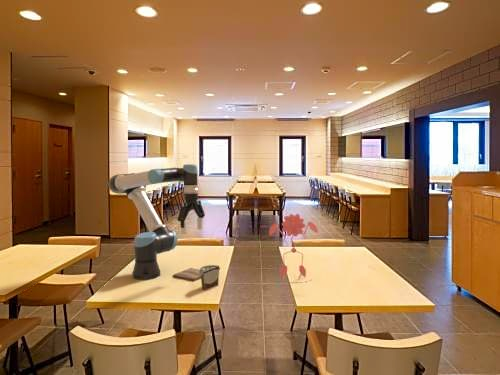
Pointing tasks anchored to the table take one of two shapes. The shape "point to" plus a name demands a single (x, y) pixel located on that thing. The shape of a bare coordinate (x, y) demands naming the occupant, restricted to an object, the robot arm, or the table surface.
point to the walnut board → (189, 274)
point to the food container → (209, 276)
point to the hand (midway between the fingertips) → (192, 231)
